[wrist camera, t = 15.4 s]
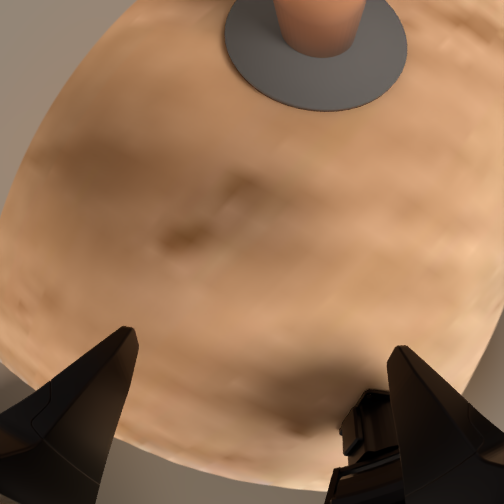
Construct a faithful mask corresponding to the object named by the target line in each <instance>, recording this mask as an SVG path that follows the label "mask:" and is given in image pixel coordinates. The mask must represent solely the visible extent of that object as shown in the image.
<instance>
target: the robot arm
mask: <svg viewBox="0 0 504 504" xmlns="http://www.w3.org/2000/svg"><path fill="white" fill-rule="evenodd" d="M138 350H139V344H138V340H137V336H136V333H135V330H134V328H132V327H127V326H122V327H120V328H119V329H118V330H116V331H115V332H113V333H112V334H111V335H109V336H108V337H107V338H105V339H104V340H103V341H101V342H100V343H99V344H97V345H96V346H95V347H93V348H92V349H91V350H89V351H88V352H87V353H85V354H84V355H83V356H81V357H80V358H79V359H78V360H76V361H75V362H74V363H72V364H71V365H70V366H68V367H67V368H66V369H64V370H63V371H62V372H60V373H59V374H58V375H56V376H55V377H54V378H53V379H51V381H49V382H47V383H46V384H45V385H43V386H42V387H41V388H39V389H38V390H37V391H35V392H34V393H32V394H31V395H30V396H28V397H26V398H25V399H23V400H22V401H20V402H19V403H17V404H15V405H14V406H12V407H10V408H9V409H7V410H6V411H4V412H2V413H0V504H95V503H96V499H97V495H98V490H99V487H100V485H99V484H100V482H101V478H102V475H103V471H104V468H105V464H106V460H107V457H108V454H109V450H110V447H111V444H112V440H113V437H114V434H115V431H116V427H117V424H118V421H119V418H120V415H121V412H122V409H123V406H124V403H125V400H126V397H127V394H128V391H129V388H130V384H131V380H132V376H133V371H134V367H135V363H136V358H137V354H138ZM387 373H388V382H389V391H390V392H384V391H378V390H372V389H369V390H366V391H365V392H364V393H363V395H362V397H361V398H360V400H359V401H358V403H357V404H356V406H355V407H353V408H352V409H351V411H350V413H349V414H348V416H347V417H346V419H345V420H344V421H343V423H342V427H341V428H340V430H339V434H340V435H342V436H343V454H344V456H348V466H345V467H342V468H341V467H338V468H335V469H334V470H333V474H332V477H331V480H330V484H329V488H328V492H327V496H326V499H325V503H324V504H504V432H502V431H501V430H500V429H499V428H497V427H496V426H495V425H494V424H492V423H491V422H490V421H489V420H488V419H486V418H485V417H484V416H483V415H482V414H481V413H479V412H478V411H477V410H476V409H475V408H474V407H473V406H472V405H471V404H470V403H468V401H467V400H466V399H465V398H464V397H462V396H461V395H460V394H459V393H458V392H457V391H456V390H455V389H454V388H453V387H452V386H451V385H450V384H449V383H448V382H446V381H445V380H444V379H443V378H442V377H441V376H440V375H439V374H438V373H437V372H436V371H435V370H433V369H432V368H431V367H430V366H429V365H428V364H427V363H426V362H425V361H424V360H423V359H421V358H420V357H419V356H418V355H417V354H416V353H415V352H414V351H413V350H411V349H410V348H409V347H408V346H406V345H400V346H396V347H395V348H394V350H393V352H392V354H391V355H390V357H389V359H388V361H387ZM369 394H371V395H369Z"/></svg>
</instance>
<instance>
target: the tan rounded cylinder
mask: <svg viewBox="0 0 504 504" xmlns="http://www.w3.org/2000/svg"><path fill="white" fill-rule="evenodd" d="M273 3H274V7H275V10H276V14H277V18H278V23H279V27H280V31H281V34H282V37H283V39H284V40H285V42H286V43H287V44H288V45H289V46H290V47H291V48H293V49H294V50H296V51H297V52H299V53H301V54H304V55H306V56H310V57H316V58H329V57H334V56H337V55H340V54H342V53H344V52H345V51H347V50H348V49H349V48H350V47H351V45H352V44H353V42H354V39H355V36H356V33H357V30H358V26H359V23H360V20H361V17H362V14H363V10H364V7H365V4H366V0H273Z"/></svg>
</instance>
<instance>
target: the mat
mask: <svg viewBox="0 0 504 504" xmlns="http://www.w3.org/2000/svg"><path fill="white" fill-rule="evenodd" d="M225 43H226V47H227V51H228V53H229V56H230V58H231V60H232V62H233V63H234V65H235V66H236V68H237V69H238V71H239V72H240V74H241V75H242V76H243V77H244V78H245V79H246V80H247V81H248V82H249V83H250V84H251V85H252V86H253V87H254V88H255V89H257V90H258V91H260V92H261V93H263V94H264V95H266V96H268V97H270V98H272V99H273V100H275V101H278V102H280V103H283V104H285V105H288V106H292V107H295V108H299V109H304V110H310V111H320V112H333V111H343V110H349V109H353V108H357V107H360V106H363V105H365V104H368V103H370V102H372V101H374V100H375V99H377V98H379V97H380V96H381V95H383V94H384V93H385V92H386V91H387V90H388V89H389V88H390V87H391V86H392V85H393V84H394V83H395V82H396V80H397V79H398V77H399V76H400V74H401V73H402V70H403V68H404V65H405V62H406V57H407V40H406V35H405V32H404V29H403V26H402V24H401V22H400V20H399V18H398V16H397V15H396V13H395V12H394V10H393V9H392V8H391V6H390V5H389V4H388V3H387V2H386V1H385V0H366V4H365V7H364V10H363V14H362V17H361V20H360V23H359V26H358V30H357V33H356V36H355V39H354V42H353V44H352V45H351V47H350V48H349V49H348V50H347V51H345V52H344V53H342V54H340V55H337V56H334V57H329V58H316V57H310V56H306V55H304V54H301V53H299V52H297V51H296V50H294V49H293V48H291V47H290V46H289V45H288V44H287V43H286V42H285V40H284V39H283V37H282V34H281V31H280V27H279V23H278V18H277V14H276V10H275V7H274V3H273V0H236V2H235V3H234V5H233V6H232V8H231V10H230V12H229V14H228V17H227V20H226V24H225Z"/></svg>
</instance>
